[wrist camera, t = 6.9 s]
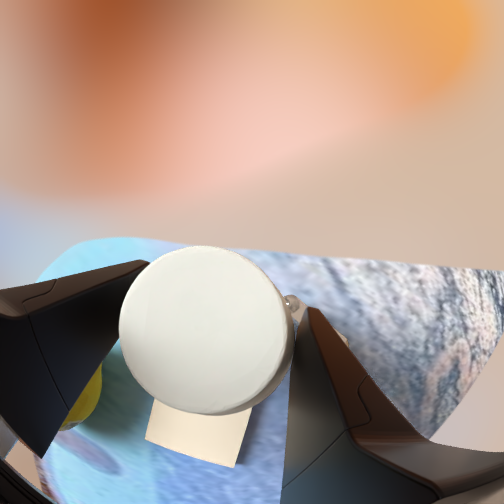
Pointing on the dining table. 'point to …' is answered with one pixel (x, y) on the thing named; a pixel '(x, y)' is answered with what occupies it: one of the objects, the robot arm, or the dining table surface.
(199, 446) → the cream coaster
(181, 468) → the dining table surface
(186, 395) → the supplement bottle
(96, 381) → the lemon
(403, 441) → the robot arm
